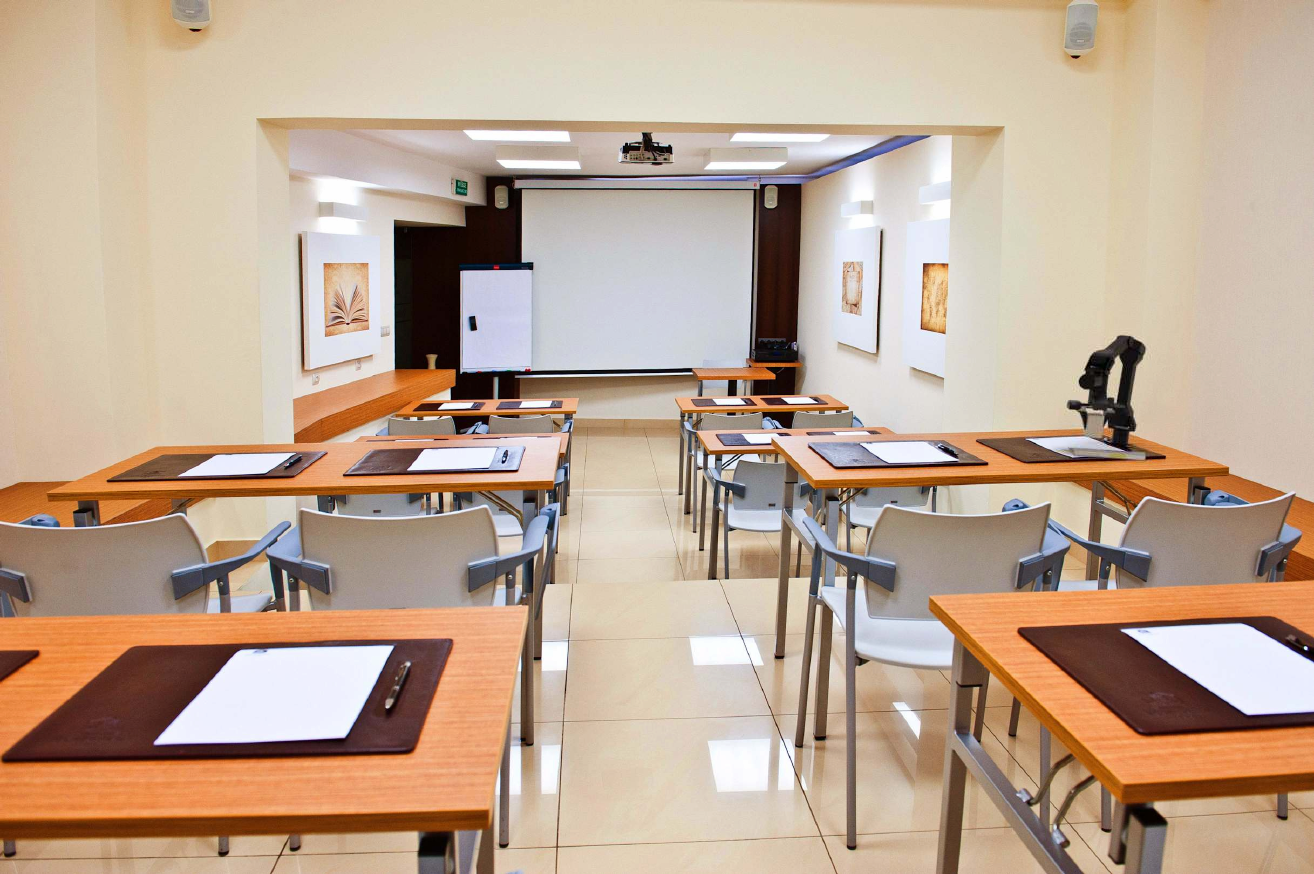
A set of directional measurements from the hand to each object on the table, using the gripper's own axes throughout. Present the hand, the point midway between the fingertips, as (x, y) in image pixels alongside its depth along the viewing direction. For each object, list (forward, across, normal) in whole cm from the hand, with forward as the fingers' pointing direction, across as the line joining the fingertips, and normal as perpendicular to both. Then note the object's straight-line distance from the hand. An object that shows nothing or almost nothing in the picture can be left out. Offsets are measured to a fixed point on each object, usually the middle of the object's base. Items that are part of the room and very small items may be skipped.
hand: (1093, 429), depth 331 cm
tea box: (+2, 0, 0) cm, 2 cm away
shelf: (+9, +5, -2) cm, 10 cm away
